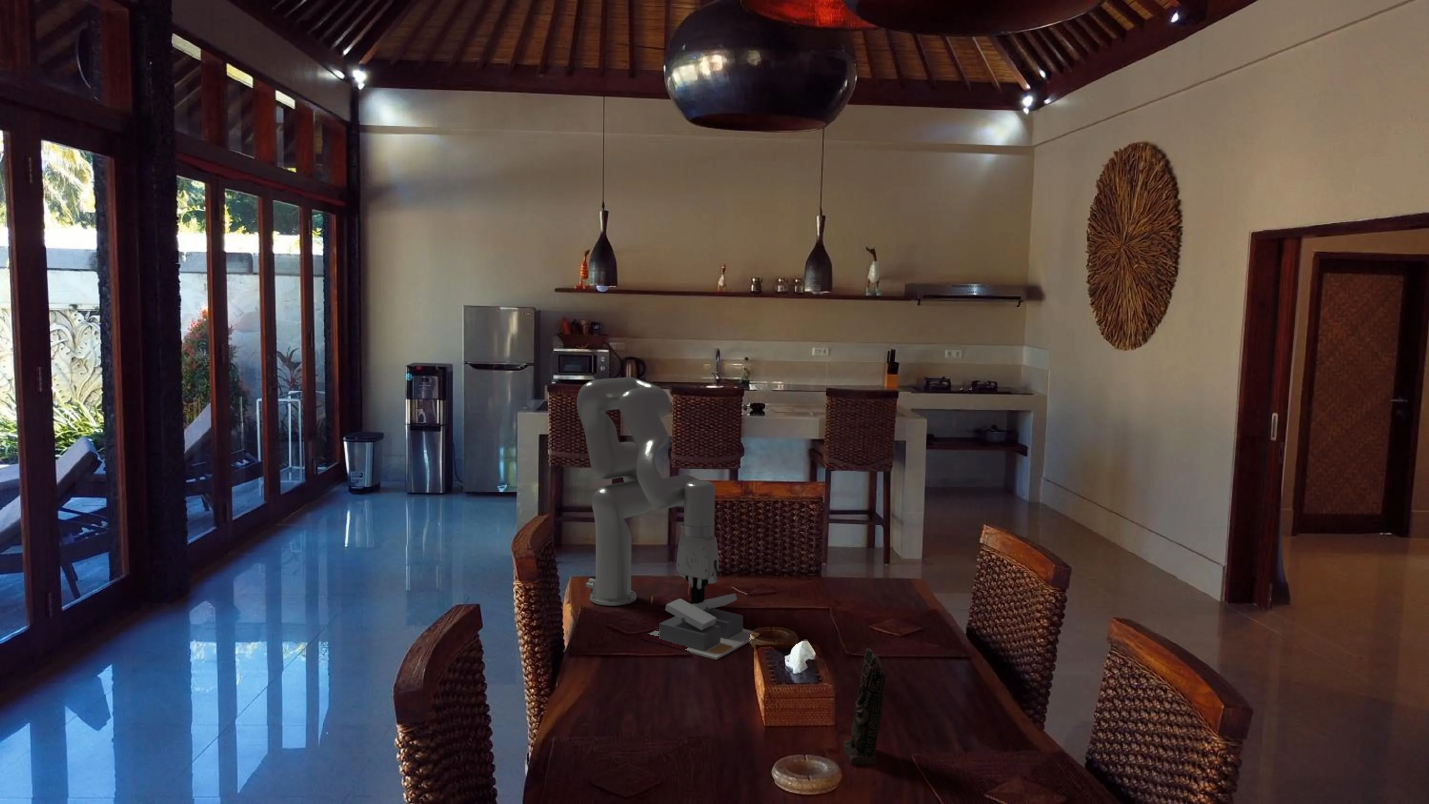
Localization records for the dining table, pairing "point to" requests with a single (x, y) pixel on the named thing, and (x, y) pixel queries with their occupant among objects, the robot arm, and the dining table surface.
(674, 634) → the switch board
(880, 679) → the statue
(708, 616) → the switch
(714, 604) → the switch
